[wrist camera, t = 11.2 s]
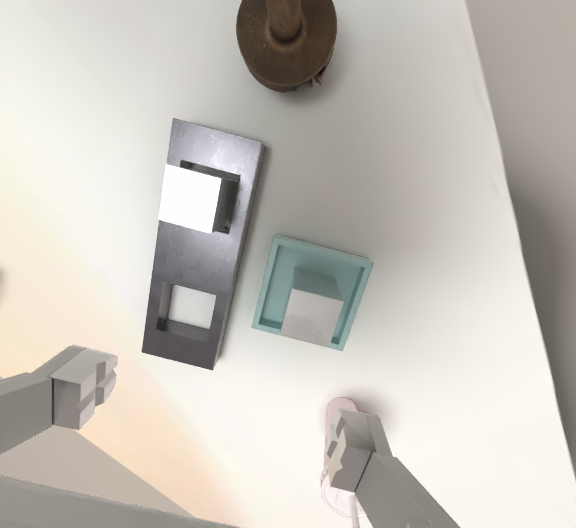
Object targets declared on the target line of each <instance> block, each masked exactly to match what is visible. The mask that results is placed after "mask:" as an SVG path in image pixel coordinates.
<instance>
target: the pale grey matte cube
mask: <svg viewBox="0 0 576 528" xmlns="http://www.w3.org/2000/svg"><path fill="white" fill-rule="evenodd" d="M343 303H344V301H343V298H342V295H341V292H340V290H339V287H338V284H337V282H336V279H335V278H334V277H330V276H326V275H322V274H318V273H314V272H310V271H306V270H302V269H298V268H295V267H294V271H293V275H292V279H291V282H290V286H289V290H288V294H287V297H286V301H285V305H284V311H283V317H282V324H281V330H280V335H282V336H286V337H290V338H294V339H298V340H302V341H305V342H309V343H313V344H317V345H321V346H325V347H329V346H330V343H331V340H332V337H333V333H334V330H335V327H336V324H337V321H338V318H339V315H340V312H341V309H342V306H343Z"/></svg>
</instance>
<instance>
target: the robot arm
mask: <svg viewBox="0 0 576 528" xmlns="http://www.w3.org/2000/svg"><path fill="white" fill-rule="evenodd" d="M116 366H117V356H116V355H113V354H109V353H105V352H102V351H98V350H94V349H90V348H85V347H81V346H77V345H72V346H69V347H67V348H66V349H65V350H63V351H62V352H60V353H59V354H58V355H56V356H55V357H53V358H52V359H50V360H49V361H48V362H46V363H45V364H43V365H42V366H41V367H39V368H38V369H36V370H35V371H34V372H32V373H23V374H19V375H16V376H13V377H9V378H6V379H2V380H0V454H2V453H4V452H6V451H7V450H9V449H11V448H13V447H15V446H17V445H18V444H20V443H22V442H24V441H26V440H28V439H30V438H31V437H33V436H35V435H37V434H39V433H41V432H42V431H44V430H46V429H48V428H50V427H51V426H52V425H57V426H61V427H67V428H72V429H77V430H80V429H81V428H82V426H83V425H84V424H85V423H86V422H87V421H88V420H89V419H90V418H91V416H92V415H93V414H94V409H95V407H96V406H98V405H100V404H102V403H104V402H105V401H106V399H107V398H108V397H109V396H110V394H111V392H112V390H113V388H114V386H115V382H116V374H115V372H114V371H113V369H114V368H115V367H116ZM326 451H327V455H328V457H329V458H330V459H331V460H330V462H329V465H328V472H329V482H330V487H334V488H338V489H342V490H345V491H349V492H353V493H355V496H356V498H357V500H358V501H359V503H360V505H361V507H362V508H363V510H364V512H365V514H366V515H367V517H368V519H369V521H370V522H371V524H372V526H373V528H460V527H459V526H458V525H457V523H456V522H455V521H454V520H453V519H452V518H451V517H450V516H449V515H448V514H447V512H446V511H445V510H444V509H443V508H442V507H441V506H440V505H439V504H438V502H437V501H436V500H435V499H434V498H433V497H432V496H431V495H430V494H429V493H428V491H427V490H426V489H425V488H424V487H423V486H422V485H421V484H420V483H419V482H418V480H417V479H416V478H415V477H414V476H413V475H412V474H411V473H410V472H409V470H408V469H407V468H406V467H405V466H404V465H403V464H402V463H401V462H400V461H399V459H398V458H396V457H393V456H392V453H391V450H390V447H389V444H388V441H387V438H386V435H385V432H384V429H383V426H382V424H381V421H380V418H379V417H378V416H377V415H372V414H368V413H362V412H357V411H353V410H349V409H344V408H340V407H337V409H336V410H335V413H334V422H333V423H332V424H330V426H329V429H328V433H327V439H326ZM0 528H241V527H237V526H232V525H227V524H223V523H218V522H214V521H209V520H205V519H200V518H196V517H191V516H186V515H182V514H177V513H173V512H168V511H164V510H159V509H155V508H150V507H146V506H141V505H137V504H132V503H127V502H123V501H118V500H114V499H109V498H105V497H100V496H96V495H91V494H86V493H82V492H77V491H73V490H68V489H63V488H59V487H55V486H50V485H45V484H41V483H36V482H31V481H27V480H22V479H18V478H14V477H9V476H4V475H0Z"/></svg>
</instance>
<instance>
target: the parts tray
mask: <svg viewBox="0 0 576 528" xmlns="http://www.w3.org/2000/svg"><path fill="white" fill-rule="evenodd" d="M372 266H373V263H372V262H371V261H370V260H369V259H368V258H365V257H361V256H357V255H354V254H350V253H346V252H342V251H338V250H335V249H331V248H327V247H323V246H319V245H316V244H312V243H308V242H304V241H300V240H297V239H293V238H289V237H285V236H281V235H278V234H275V236H274V238H273V243H272V247H271V251H270V255H269V259H268V263H267V267H266V271H265V275H264V279H263V283H262V287H261V291H260V295H259V299H258V303H257V307H256V312H255V316H254V320H253V324H252V328H255V329H259V330H262V331H266V332H270V333H274V334H278V335H280V330H281V324H282V317H283V311H284V305H285V301H286V297H287V294H288V290H289V286H290V282H291V279H292V275H293V271H294V267H295V268H298V269H302V270H306V271H310V272H314V273H318V274H322V275H326V276H330V277H334V278H335V279H336V282H337V284H338V287H339V290H340V292H341V295H342V298H343V301H344V303H343V306H342V309H341V312H340V315H339V318H338V321H337V324H336V327H335V330H334V333H333V337H332V340H331V343H330V346H329V348H332V349H336V350H340V351H343V348H344V345H345V342H346V340H347V337H348V334H349V331H350V328H351V325H352V323H353V320H354V317H355V314H356V311H357V308H358V305H359V303H360V300H361V297H362V294H363V291H364V288H365V286H366V283H367V280H368V277H369V274H370V271H371V268H372ZM297 340H298V339H297ZM301 341H302V340H301Z"/></svg>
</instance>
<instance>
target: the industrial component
mask: <svg viewBox="0 0 576 528" xmlns="http://www.w3.org/2000/svg"><path fill="white" fill-rule="evenodd" d="M236 33H237V40H238V45H239V48H240V51H241V54H242V56H243V59H244V61H245V63H246V65H247V67H248V69H249V71H250V72H251V74H252V75H253V76H254V77H255V78H256V80H257V81H259V82H260V83H261V84H263V85H264V86H266V87H267V88H269V89H272V90H274V91H279V92H286V91H290V90H295V89H296V87H297V85H300V84H302V83H305V82H306V81H308V80H309V82H310V84H311V86H313V84H314V79H315V80H316V82H318V83H319V84H320V85H321V84H322V78H321V77H322V75H323V74H324V72H325V69H326V67H327V65H328V64H329V61H330V59H331V56H332V53H333V49H334V44H335V39H336V33H337V19H336V12H335V8H334V4H333V1H332V0H242V2H241V4H240V8H239V11H238V16H237V24H236ZM297 91H298V90H297Z"/></svg>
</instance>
